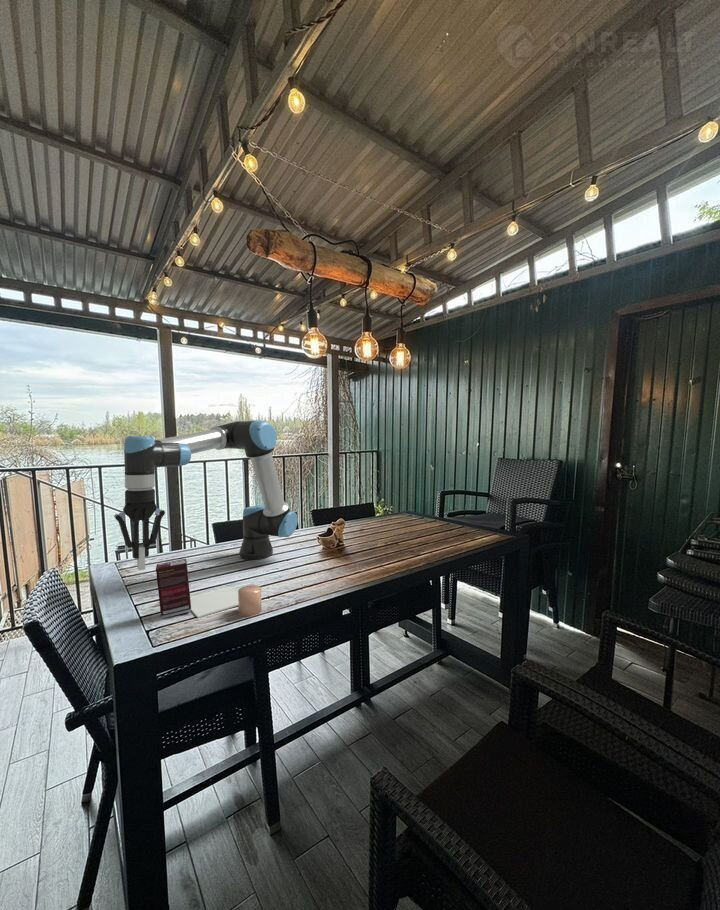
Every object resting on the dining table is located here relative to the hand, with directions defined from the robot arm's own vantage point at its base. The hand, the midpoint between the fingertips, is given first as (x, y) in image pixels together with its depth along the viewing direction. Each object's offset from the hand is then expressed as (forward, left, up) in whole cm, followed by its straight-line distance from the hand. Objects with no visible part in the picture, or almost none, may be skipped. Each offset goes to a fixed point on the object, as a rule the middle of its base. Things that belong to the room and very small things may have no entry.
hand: (141, 568), depth 108 cm
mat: (-22, 0, -16) cm, 27 cm away
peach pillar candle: (-27, +14, -17) cm, 35 cm away
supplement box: (-9, 0, -16) cm, 19 cm away
